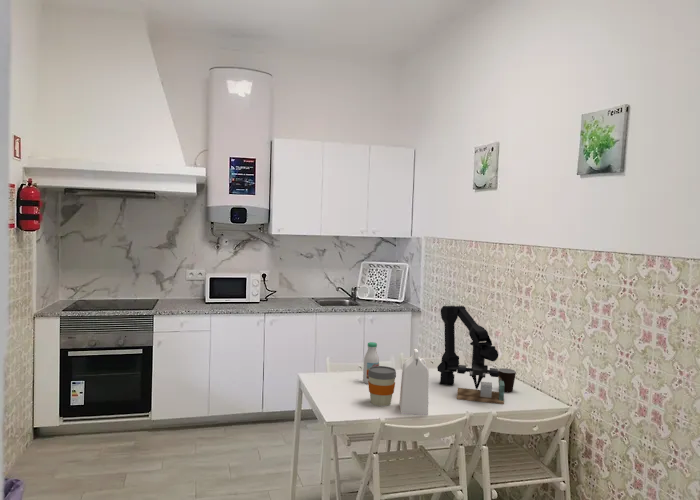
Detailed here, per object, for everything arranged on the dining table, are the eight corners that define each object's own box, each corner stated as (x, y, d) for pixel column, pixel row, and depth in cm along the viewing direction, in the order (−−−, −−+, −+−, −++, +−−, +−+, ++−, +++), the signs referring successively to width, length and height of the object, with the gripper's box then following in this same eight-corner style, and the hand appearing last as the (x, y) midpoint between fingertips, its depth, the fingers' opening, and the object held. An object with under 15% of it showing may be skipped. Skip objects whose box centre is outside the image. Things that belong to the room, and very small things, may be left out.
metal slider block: (480, 396, 262) (481, 384, 262) (480, 393, 268) (480, 381, 268) (491, 398, 261) (492, 385, 261) (491, 394, 267) (491, 382, 266)
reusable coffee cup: (375, 396, 261) (376, 364, 260) (399, 401, 254) (401, 369, 254) (361, 403, 250) (363, 370, 249) (386, 409, 244) (388, 375, 243)
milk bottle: (360, 383, 280) (362, 343, 279) (366, 379, 288) (367, 340, 286) (375, 385, 278) (377, 345, 276) (380, 381, 285) (382, 342, 284)
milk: (399, 404, 251) (402, 346, 250) (425, 405, 251) (428, 347, 249) (400, 413, 239) (403, 353, 238) (428, 414, 239) (431, 354, 237)
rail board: (456, 399, 262) (457, 382, 261) (457, 391, 273) (458, 375, 273) (503, 404, 257) (504, 387, 257) (502, 396, 269) (503, 379, 268)
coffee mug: (515, 394, 274) (516, 373, 273) (497, 392, 275) (498, 372, 275) (513, 387, 285) (514, 367, 284) (496, 385, 287) (497, 366, 286)
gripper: (457, 358, 259) (455, 391, 260) (499, 362, 255) (497, 396, 255) (458, 352, 270) (456, 384, 270) (498, 356, 265) (496, 389, 266)
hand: (476, 388), depth 265 cm, fingers closed
